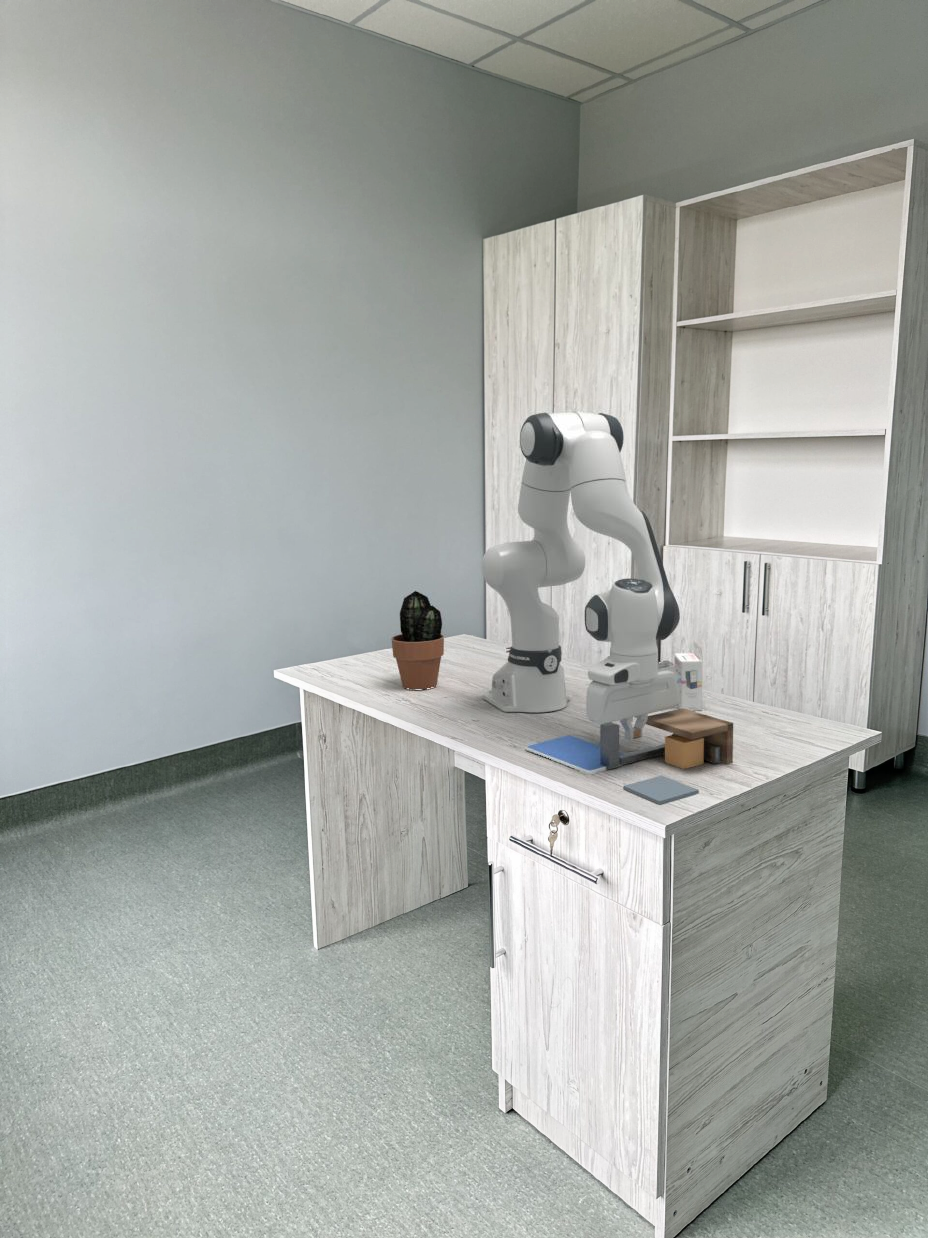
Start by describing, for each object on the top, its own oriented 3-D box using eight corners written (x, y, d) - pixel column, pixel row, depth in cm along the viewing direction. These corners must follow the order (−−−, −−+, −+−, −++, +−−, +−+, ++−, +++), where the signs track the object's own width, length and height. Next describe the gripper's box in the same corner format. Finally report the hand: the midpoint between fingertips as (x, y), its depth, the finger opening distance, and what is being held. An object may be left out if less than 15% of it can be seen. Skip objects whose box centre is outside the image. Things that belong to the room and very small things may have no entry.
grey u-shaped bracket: (600, 765, 168) (600, 724, 167) (675, 746, 178) (676, 707, 177) (643, 783, 159) (643, 739, 157) (721, 761, 168) (721, 720, 167)
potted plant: (388, 693, 229) (384, 595, 225) (399, 680, 243) (394, 588, 238) (441, 693, 227) (438, 595, 223) (449, 680, 241) (445, 587, 237)
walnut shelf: (642, 755, 174) (642, 717, 173) (682, 745, 180) (682, 708, 178) (692, 774, 163) (692, 733, 162) (732, 762, 169) (733, 723, 167)
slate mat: (623, 789, 157) (623, 785, 157) (661, 778, 161) (661, 775, 161) (659, 804, 149) (659, 801, 149) (698, 793, 154) (698, 789, 154)
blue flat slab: (637, 763, 172) (637, 756, 172) (589, 778, 165) (589, 771, 164) (569, 740, 187) (569, 734, 187) (522, 752, 180) (522, 746, 180)
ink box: (673, 701, 212) (673, 640, 210) (694, 701, 212) (694, 639, 210) (680, 711, 204) (681, 647, 201) (702, 711, 204) (703, 647, 201)
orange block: (664, 762, 170) (665, 736, 170) (684, 757, 173) (684, 732, 172) (684, 769, 166) (684, 743, 165) (703, 764, 169) (703, 738, 168)
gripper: (663, 656, 176) (662, 724, 178) (580, 671, 165) (581, 743, 168) (686, 661, 171) (685, 732, 173) (603, 677, 160) (603, 752, 162)
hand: (633, 738), depth 170 cm, fingers closed
